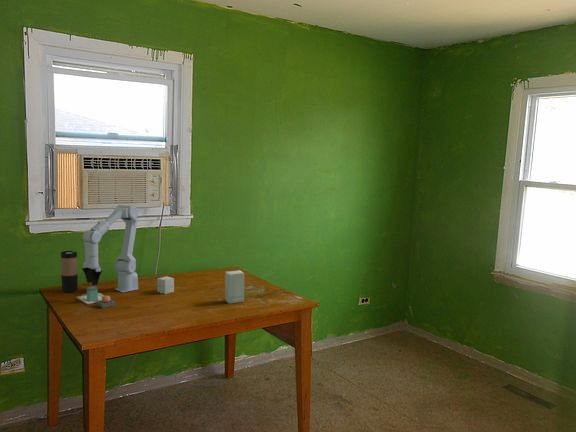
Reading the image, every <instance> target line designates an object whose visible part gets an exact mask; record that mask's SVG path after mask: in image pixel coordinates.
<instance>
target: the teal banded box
mask: <svg viewBox="0 0 576 432" xmlns="http://www.w3.org/2000/svg"><path fill="white" fill-rule="evenodd" d="M98 293H99V292H98V287H97V286H96V285H92V286H88V287H86V294H87V300H89V301H95V300H98Z"/></svg>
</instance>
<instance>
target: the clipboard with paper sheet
mask: <svg viewBox="0 0 576 432" xmlns="http://www.w3.org/2000/svg"><path fill="white" fill-rule="evenodd" d="M102 296H106V295H105V294H104V293H101V292H98V300H95V301H89V300H87V293H84V294H81V295H79V296H74V299H75V300H77V301H79V302H81V303H82V304H84V305H86V306H89V304H90V305H95V304H97V301H101V300H102ZM110 299H111V300H113V298H111V297H110ZM113 301H114V300H113ZM94 303H95V304H94Z"/></svg>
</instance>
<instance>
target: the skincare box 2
mask: <svg viewBox="0 0 576 432" xmlns="http://www.w3.org/2000/svg"><path fill="white" fill-rule="evenodd" d="M224 286H225V287H224V289H225V290H224V291H225V292H224V293H225V295H224V296H225V297H224V299H225V300H224V301H226V302H227V304H235V303H244V302H245V272H243V271H242V270H240V269H237V270H232V271H224Z"/></svg>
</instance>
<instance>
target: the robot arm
mask: <svg viewBox="0 0 576 432" xmlns="http://www.w3.org/2000/svg"><path fill="white" fill-rule="evenodd" d="M138 216H139V209H138V208H137V206H135V205H124V204H117V206H115V207H114V209H113V212H112V213H110V214H109V216H107V218H105V220H98V221H97V223H96V224H95V225H94V226H92V227H91V228H90V229H88V230H85V231H84V232H83V234H82V236H81V239H82V241H83V245H84V255H85V257H84V260H85V262H83V265H82V271H83V273H84V276H85V279H86V282H87V284H89V283H91V284H92V286H98V283H99V280H100V276H101V275H102V273H103V270H102V268H101V266H100V264H99V242H101V239H102V237H103V236H104V234H106V233H107V232H108V231H109V230H110V226H112V225H113V224H114V223H115V222H116V221H118V220H119V219H120V220H122V221H123V222H124V223H125V227H124V234H123V240H122V246H121V247H122V248H121V252H120V254H118V256H117V257H116V261H115V262H114V265H113V266H114V270H115V271H116V274H117V287H116V288H114V290H116V291H118V292H120V293H126V292H132V291H137V290H140V289H139V277H138V273H137V272H136V268H137V263H136V262H137V259H136V258H135V257H134V256H133V251H134V247H135V246H134V245H135V240H136V234H137V233H136V232H137V226H138Z"/></svg>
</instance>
